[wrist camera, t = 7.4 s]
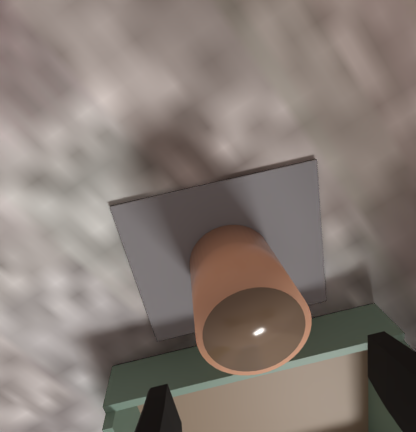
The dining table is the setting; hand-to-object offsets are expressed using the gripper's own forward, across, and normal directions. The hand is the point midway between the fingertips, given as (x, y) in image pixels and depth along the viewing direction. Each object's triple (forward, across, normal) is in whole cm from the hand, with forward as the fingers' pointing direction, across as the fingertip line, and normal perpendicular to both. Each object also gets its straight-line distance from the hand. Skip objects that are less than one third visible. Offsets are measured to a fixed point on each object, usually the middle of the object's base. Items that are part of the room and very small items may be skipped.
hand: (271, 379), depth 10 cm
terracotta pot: (+9, 0, 0) cm, 9 cm away
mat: (+9, 0, 0) cm, 9 cm away
